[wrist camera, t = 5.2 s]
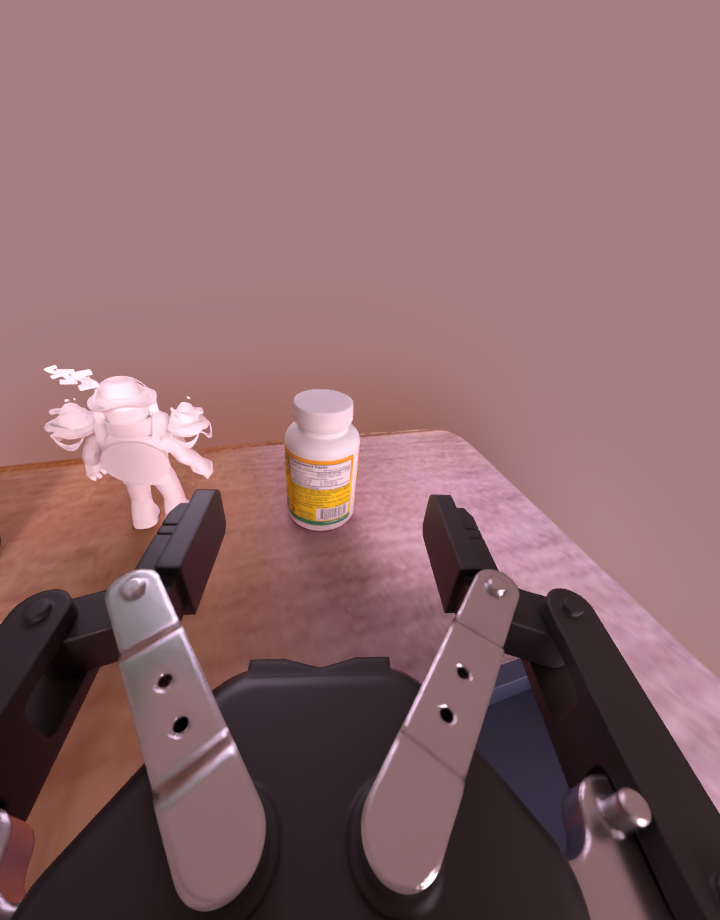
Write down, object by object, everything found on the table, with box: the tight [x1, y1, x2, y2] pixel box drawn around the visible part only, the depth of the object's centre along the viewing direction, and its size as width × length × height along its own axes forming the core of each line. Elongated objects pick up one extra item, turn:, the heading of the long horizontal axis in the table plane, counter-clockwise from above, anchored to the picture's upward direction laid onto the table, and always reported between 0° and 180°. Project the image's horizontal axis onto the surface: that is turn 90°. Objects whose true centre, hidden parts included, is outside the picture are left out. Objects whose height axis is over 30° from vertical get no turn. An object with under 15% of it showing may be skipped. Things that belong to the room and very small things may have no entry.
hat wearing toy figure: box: [44, 365, 213, 529], centre depth 23 cm, size 9×4×12 cm, turn 100°
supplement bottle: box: [285, 389, 360, 531], centre depth 25 cm, size 5×5×10 cm
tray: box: [475, 658, 569, 855], centre depth 12 cm, size 12×12×3 cm
